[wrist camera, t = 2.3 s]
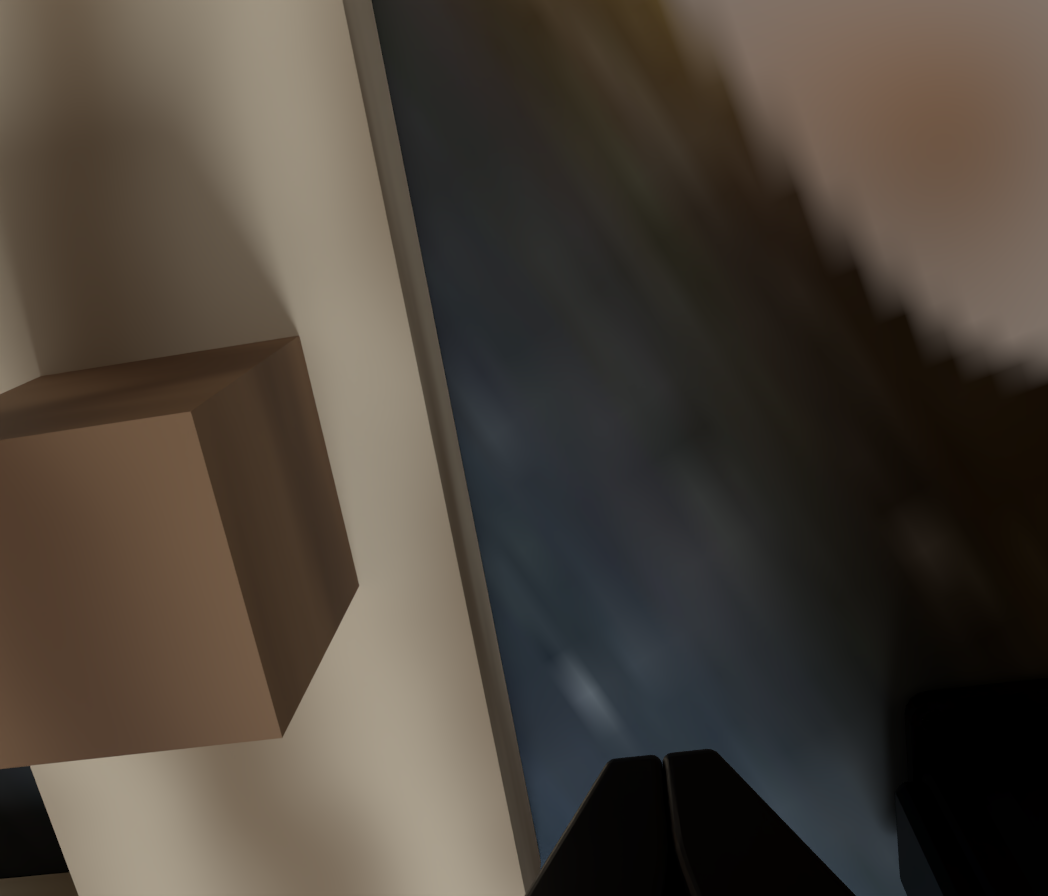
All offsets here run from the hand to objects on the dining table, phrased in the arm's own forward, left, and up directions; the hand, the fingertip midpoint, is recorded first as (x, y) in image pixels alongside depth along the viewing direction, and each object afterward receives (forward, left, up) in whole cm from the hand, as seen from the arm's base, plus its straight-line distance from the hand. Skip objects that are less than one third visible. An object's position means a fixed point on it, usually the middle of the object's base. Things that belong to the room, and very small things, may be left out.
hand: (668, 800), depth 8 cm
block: (+8, 0, -10) cm, 13 cm away
